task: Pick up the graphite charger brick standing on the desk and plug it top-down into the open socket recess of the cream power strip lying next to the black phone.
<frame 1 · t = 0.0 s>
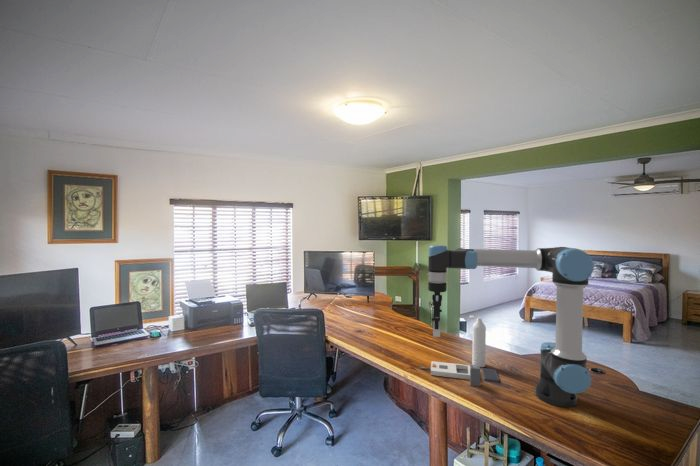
hand: (436, 331, 143), 28 cm above the table, fingers open, 13 cm apart
power strip: (453, 372, 168), on the table
phone: (490, 377, 164), on the table
water bottle: (476, 364, 178), on the table
charger: (474, 384, 156), on the table
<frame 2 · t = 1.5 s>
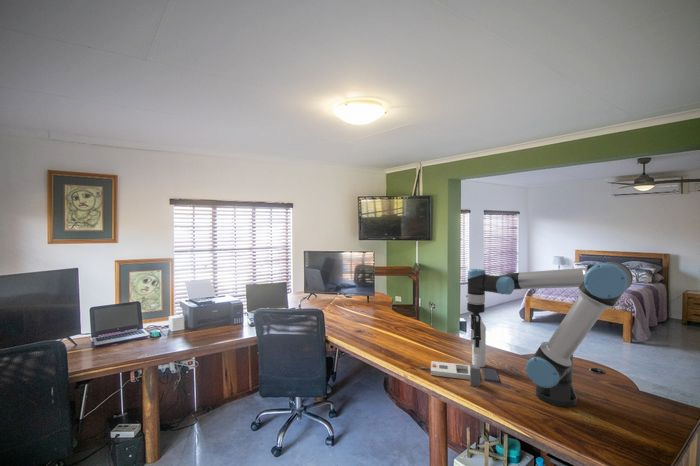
hand: (475, 348, 156), 16 cm above the table, fingers open, 13 cm apart
nothing on the table moved.
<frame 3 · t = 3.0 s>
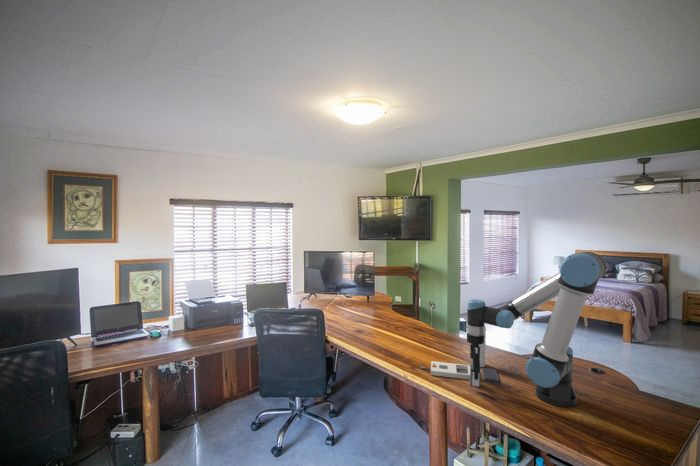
hand: (474, 379, 156), 2 cm above the table, fingers open, 13 cm apart
nothing on the table moved.
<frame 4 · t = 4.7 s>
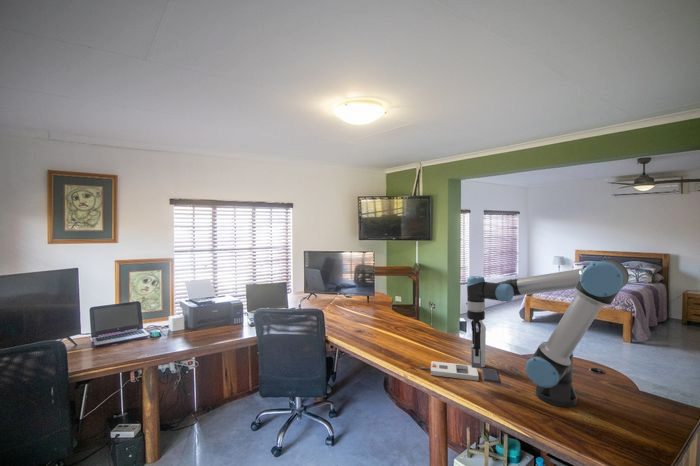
hand: (476, 360, 155), 11 cm above the table, fingers closed on charger, 4 cm apart
charger: (475, 366, 155), point 8 cm above the table, touching gripper
everything else where it was.
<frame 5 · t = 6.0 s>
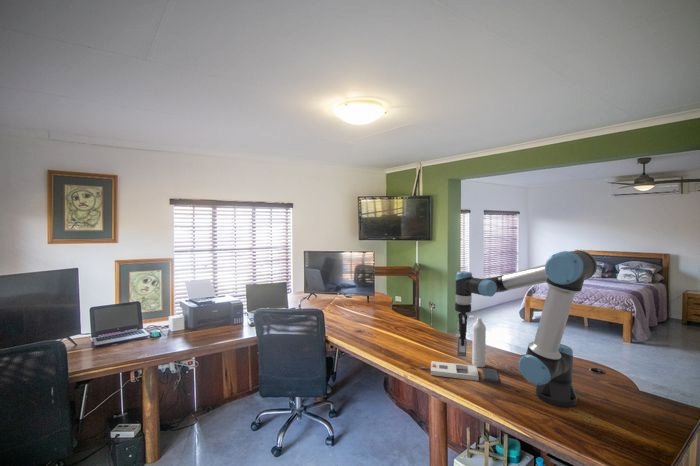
hand: (461, 349, 167), 12 cm above the table, fingers closed on charger, 4 cm apart
charger: (461, 354, 167), point 9 cm above the table, touching gripper
everything else where it was.
when the fingers open (3 cm above the table, at t = 7.3 s): charger stays where it is, resting on power strip.
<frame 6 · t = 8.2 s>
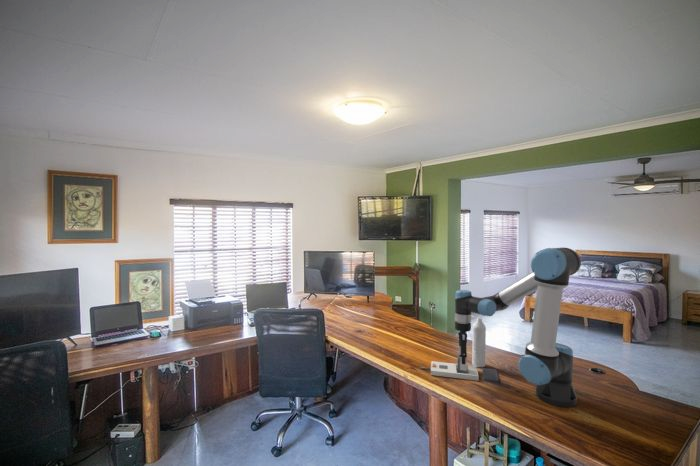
hand: (462, 364, 167), 5 cm above the table, fingers open, 13 cm apart
charger: (461, 373, 167), resting on power strip
everything else where it was.
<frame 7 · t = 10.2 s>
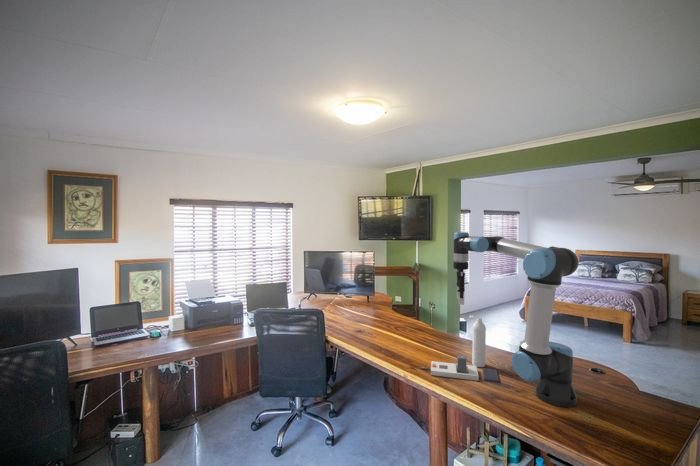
hand: (460, 301, 178), 33 cm above the table, fingers open, 13 cm apart
nothing on the table moved.
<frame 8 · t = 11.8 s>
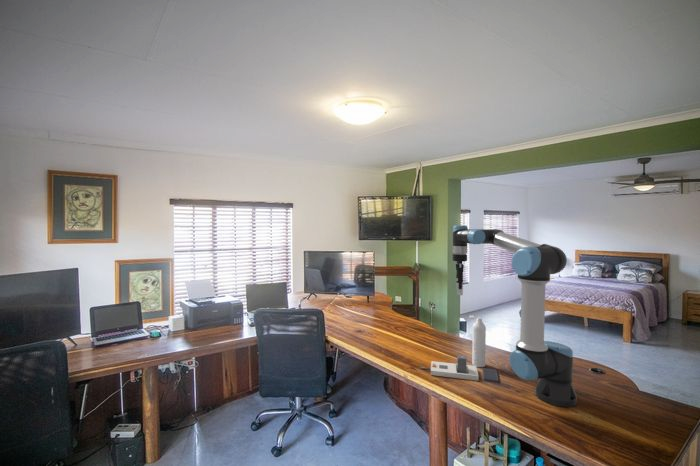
hand: (459, 292, 184), 37 cm above the table, fingers open, 13 cm apart
nothing on the table moved.
at the end: charger 0.3 cm from the target spot on the power strip, point 0.2 cm above the power strip's base; charger tilted 0°; the gripper is holding nothing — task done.
